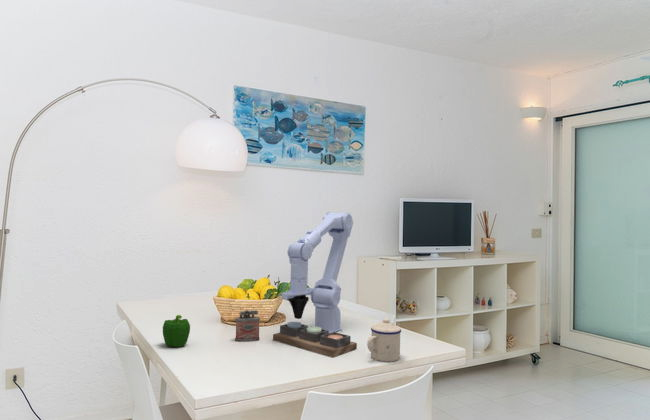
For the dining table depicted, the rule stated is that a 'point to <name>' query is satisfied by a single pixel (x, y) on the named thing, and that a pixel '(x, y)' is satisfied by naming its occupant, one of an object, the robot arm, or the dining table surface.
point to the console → (315, 340)
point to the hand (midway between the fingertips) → (298, 318)
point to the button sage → (314, 329)
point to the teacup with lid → (385, 341)
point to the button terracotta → (335, 336)
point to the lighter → (247, 326)
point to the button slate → (294, 324)
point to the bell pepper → (176, 331)
